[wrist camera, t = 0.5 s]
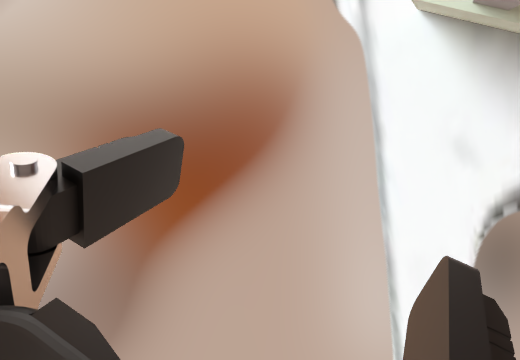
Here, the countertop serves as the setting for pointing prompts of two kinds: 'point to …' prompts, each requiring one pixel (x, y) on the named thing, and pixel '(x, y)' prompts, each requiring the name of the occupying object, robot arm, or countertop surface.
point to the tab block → (477, 11)
